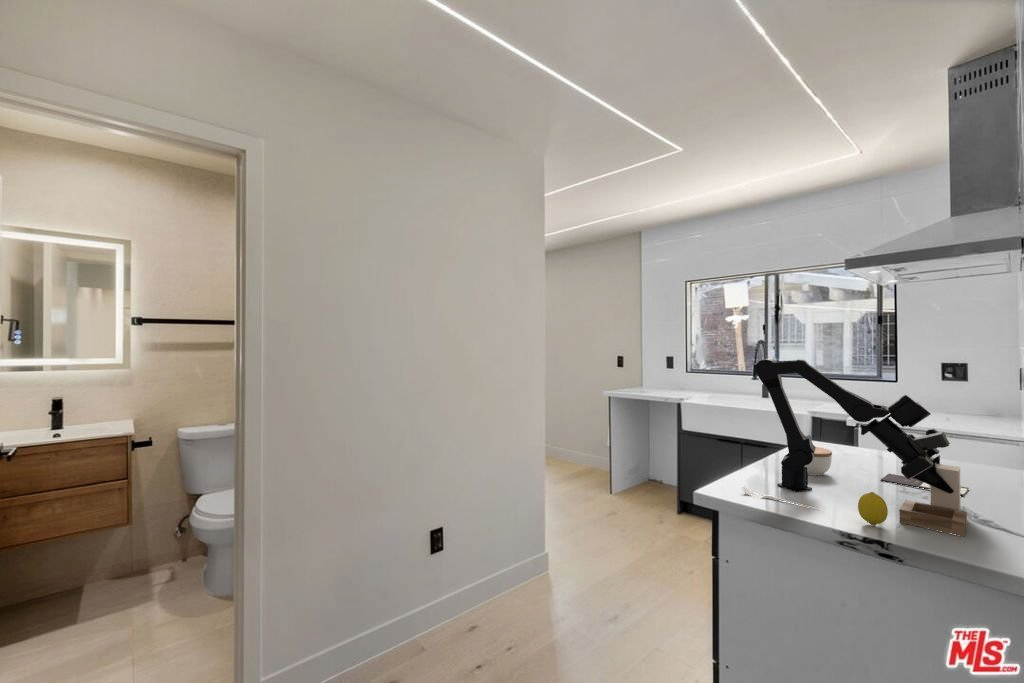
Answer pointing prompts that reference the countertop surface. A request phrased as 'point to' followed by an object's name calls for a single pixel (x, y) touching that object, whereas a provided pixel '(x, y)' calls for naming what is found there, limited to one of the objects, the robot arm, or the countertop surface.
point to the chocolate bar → (913, 482)
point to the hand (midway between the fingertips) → (953, 489)
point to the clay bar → (953, 479)
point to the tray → (933, 517)
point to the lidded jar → (820, 462)
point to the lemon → (872, 508)
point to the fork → (772, 497)
